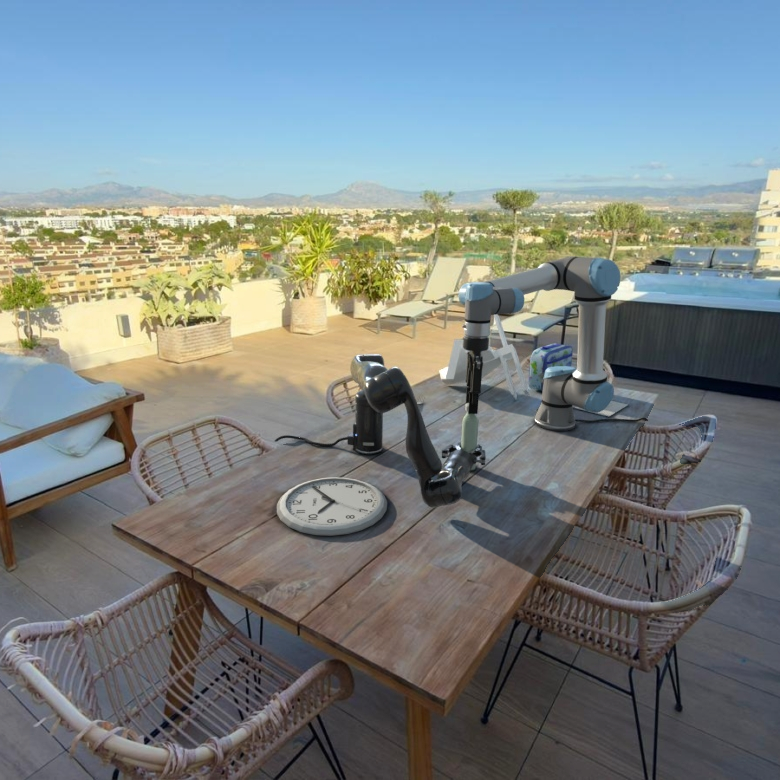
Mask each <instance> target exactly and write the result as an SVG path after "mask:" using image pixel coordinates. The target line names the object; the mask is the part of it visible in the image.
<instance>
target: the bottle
mask: <svg viewBox="0 0 780 780" xmlns="http://www.w3.org/2000/svg"><path fill="white" fill-rule="evenodd" d="M479 421H480V420H479V417H478V415H477V414H468V412H467V411H466V413H465V415H464V416H463V418H462V423H461V425H462V426H461V427H462V428H461V438H460V439H461V441H460V442H461V450H464V451H470V450H472V449H476V447H477V445H478V438H479V437H478V435H479V424H480V423H479ZM476 464H477V463H476ZM476 464H474V465H473V467H472V468H471V470H470V471H474V470H476Z"/></svg>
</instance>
